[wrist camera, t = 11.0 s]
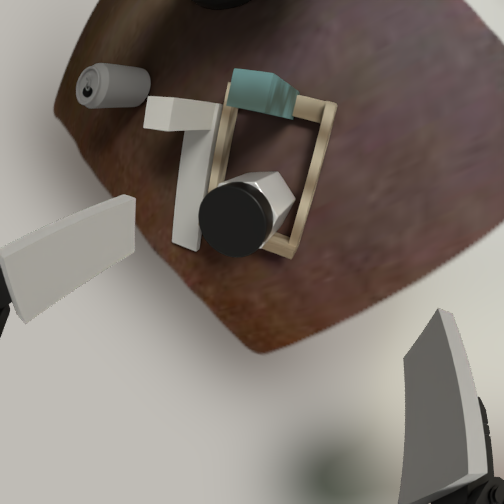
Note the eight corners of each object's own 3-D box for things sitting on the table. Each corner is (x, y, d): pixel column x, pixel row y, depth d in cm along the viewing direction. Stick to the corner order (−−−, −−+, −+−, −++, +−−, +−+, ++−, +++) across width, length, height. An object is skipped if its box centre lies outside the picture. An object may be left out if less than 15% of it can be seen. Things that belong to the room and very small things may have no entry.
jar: (227, 187, 41) (182, 207, 31) (270, 157, 37) (235, 167, 27) (260, 236, 42) (225, 272, 32) (305, 211, 38) (283, 242, 28)
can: (120, 103, 42) (69, 105, 31) (130, 66, 38) (79, 61, 28) (147, 111, 40) (93, 112, 30) (159, 71, 37) (106, 63, 26)
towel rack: (236, 81, 33) (189, 65, 23) (338, 102, 30) (329, 85, 20) (211, 217, 44) (165, 245, 33) (297, 248, 40) (274, 289, 30)
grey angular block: (194, 100, 37) (145, 96, 27) (223, 104, 35) (177, 97, 26) (175, 239, 48) (134, 266, 38) (199, 248, 47) (159, 279, 37)
